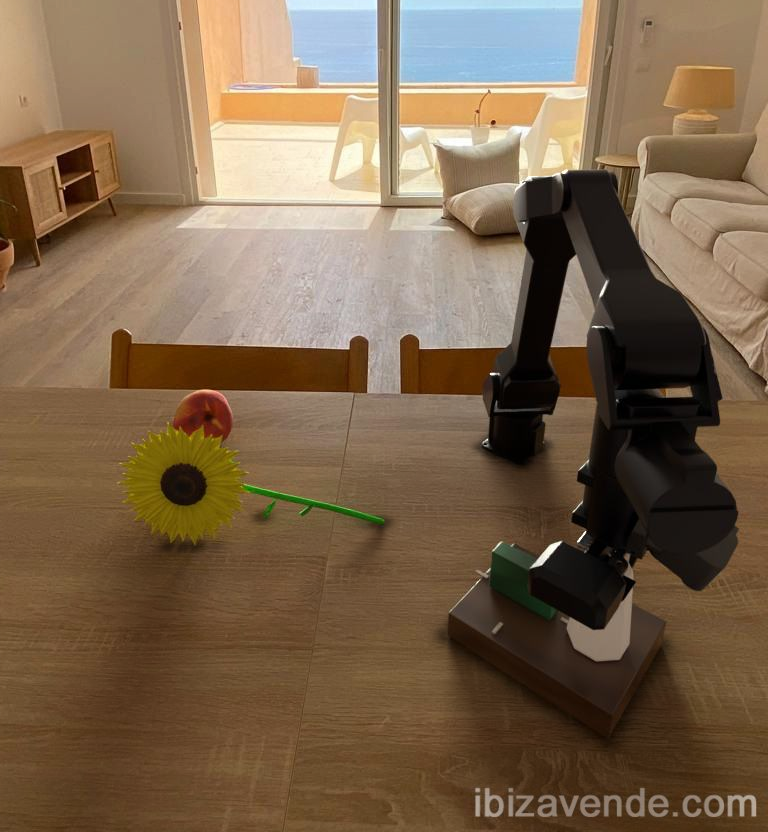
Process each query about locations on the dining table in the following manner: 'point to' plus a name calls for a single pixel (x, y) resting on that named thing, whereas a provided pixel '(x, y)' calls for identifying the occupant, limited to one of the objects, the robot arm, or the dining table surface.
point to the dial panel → (554, 653)
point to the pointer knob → (515, 578)
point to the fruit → (204, 414)
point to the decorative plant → (195, 485)
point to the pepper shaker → (605, 631)
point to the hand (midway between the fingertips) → (602, 607)
